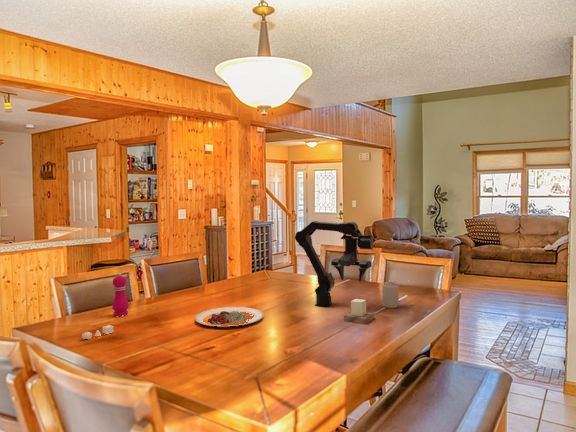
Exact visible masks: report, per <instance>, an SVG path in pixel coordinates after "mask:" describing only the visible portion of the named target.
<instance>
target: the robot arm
mask: <svg viewBox="0 0 576 432" xmlns="http://www.w3.org/2000/svg"><path fill="white" fill-rule="evenodd" d="M316 231H331V232H339V233H341V234H343V235H342V236H341V237H340V240H344V250H343V255H342V256H341V257H340V258H338V257H337V258H334V259H332V260H331V261H330V266H333V268H335V269H336V270H337V272H338V274H339V276H340V279H341V281H343V280H344V277H345V267H350V266H358V267H359V268H358V272H359V276H358V281H359V283H362V280H363V277H364V275H365V273H366V271H367V270H369V268H372V265H373V264H372V261H371V260H365V259H364V260H361V261H359V258H358V253H359V250H358V248H359V249H360V250H371V251H372V250H373V249H374V243H375V242H374V240H373V234H362V232H361V231H360V229H359V225H358V224H357V222H354V221H350V222H340V223H339V222H327V221H326V222H325V221H317V220H314V221H311V222H309V224H308V225H306V226H305V227H304V228H303V229H301V230H298V231H297V232H296V233H295V235H294V240H295V241H296V242H297V244H298V246H300V247H301V248H302V249H303V250H304V252H305V253H306V256H307V257H308V260H309V262H310V264H311V266H312V268H313V270H314V272H315V274H316V275H317V284H318V286H317V287H316V288H315V289H314V293H315V294H316V296H315V297H316V298H315V299H316V303H315V304H314V306H317V307H323V308H327V307H330V306H331V305H332V304H333V303H332V296H331V291H332V289H333V288H334V286H335V284H336V283H335V278H334V276H333V274H332V272H329V273H328V271H326V269H325V267H324V265H323V263H322V261H321V259H320V257H319V256H318V254H317V252H316V249H315V248H314V246H313V245H314V244H313V240H312V235H314V233H315V232H316Z"/></svg>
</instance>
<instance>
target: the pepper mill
mask: <svg viewBox="0 0 576 432" xmlns="http://www.w3.org/2000/svg"><path fill="white" fill-rule="evenodd" d="M112 285H113V286H114V287H113V288H114V289H113V290H114V292H115V293H114V294H115V296H114V299H113V302H112V305H111V307H112V310H113V317H114V316H122V315H127V314H128V315H129V310H128V309H129V307H130V306H129V305H130V303H129V301H128V298H127V296H126V293H125V291H126V290H127V289H126V287H127V286H126V285H127V278H126V277H125V276H122V273H121V272H118V273H117V276H115V277H114V278H113V279H112ZM128 315H127V316H128Z"/></svg>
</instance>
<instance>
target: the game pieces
mask: <svg viewBox="0 0 576 432" xmlns="http://www.w3.org/2000/svg"><path fill="white" fill-rule="evenodd" d="M112 332H114V326H113V325H111V324H108V325H105V326H104V325H103V326H102V333H101V332H100V330H98V329H97V330H96V332H95V333H94V336H101V335H102V334H103V333H105V334H109V333H112ZM105 334H104V335H105ZM109 335H110V334H109ZM81 337H82V339H83V340H84V339H88V340H91V338H92V337H93V332H90V331H85V332H83V333H82V334H81ZM101 337H102V336H101Z"/></svg>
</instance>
